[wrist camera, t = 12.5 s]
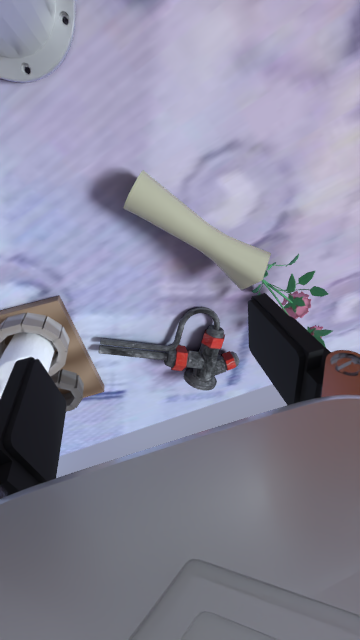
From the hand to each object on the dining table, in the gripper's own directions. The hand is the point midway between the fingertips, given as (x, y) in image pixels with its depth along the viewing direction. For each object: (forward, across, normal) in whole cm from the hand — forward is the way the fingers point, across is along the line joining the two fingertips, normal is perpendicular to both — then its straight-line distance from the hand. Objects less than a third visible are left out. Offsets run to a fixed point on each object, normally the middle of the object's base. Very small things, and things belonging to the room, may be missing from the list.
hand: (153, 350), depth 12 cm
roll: (+27, +18, +14) cm, 35 cm away
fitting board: (+28, +18, +19) cm, 39 cm away
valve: (+29, -3, +23) cm, 37 cm away
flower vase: (+29, -14, +9) cm, 33 cm away
